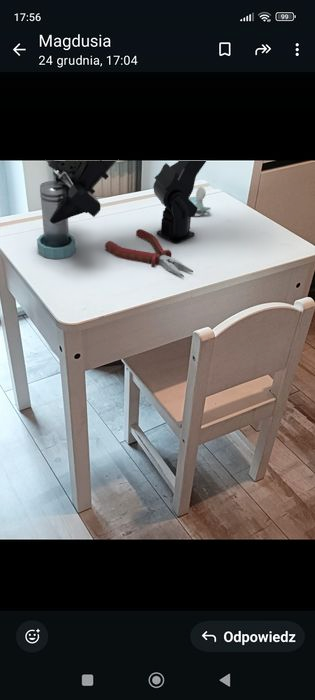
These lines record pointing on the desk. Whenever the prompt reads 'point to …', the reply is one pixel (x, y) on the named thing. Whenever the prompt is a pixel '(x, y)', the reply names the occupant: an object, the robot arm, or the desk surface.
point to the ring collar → (56, 249)
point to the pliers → (149, 254)
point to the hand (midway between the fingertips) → (48, 216)
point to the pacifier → (199, 201)
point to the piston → (50, 201)
